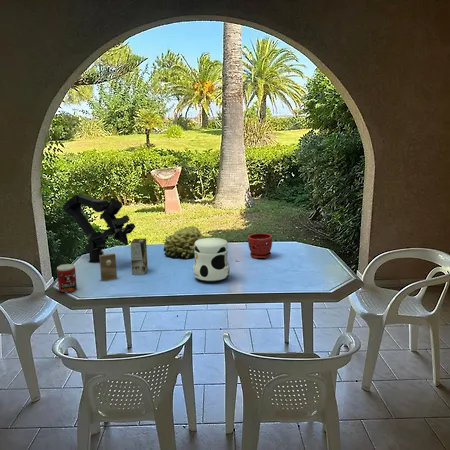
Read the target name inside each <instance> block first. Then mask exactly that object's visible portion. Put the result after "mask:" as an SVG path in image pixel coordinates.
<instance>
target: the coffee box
mask: <svg viewBox="0 0 450 450" xmlns="http://www.w3.org/2000/svg"><path fill="white" fill-rule="evenodd" d="M130 257H131V258H130V261H131V274H132V275H145V274H146V272H147V271H148V267H149V266H148V249H147V238H133V239H132V240H131V242H130Z"/></svg>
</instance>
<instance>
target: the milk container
mask: <svg viewBox="0 0 450 450" xmlns="http://www.w3.org/2000/svg"><path fill="white" fill-rule="evenodd" d="M194 247H195V257H194V262H193V268H192V271H193V275H194V277H195V279H197V280H198V281H201V282H208V283H210V282H211V283H216V282H220V281H224V280H225V279H228V277H229V276H230V275H229V274H230V272H231V271H230V269H231V268H230V267H231V266H230V263H229V260H228V259H229V257H228V253H229V250H228V247H229V246H228V241H227V240H226V239H225V238H219V237H206V238H205V237H204V239H199V240H197V241H196V242H195V246H194Z"/></svg>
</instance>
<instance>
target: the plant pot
mask: <svg viewBox="0 0 450 450" xmlns="http://www.w3.org/2000/svg"><path fill="white" fill-rule="evenodd" d="M247 244H248V249H249V250H250V254H249V255H250V257H251V258H253V259H256V258H265V259H268V258H270V257H271V255H272V252H271V250H272V247H273V236H272V234H270V233H264V232H261V233H252V234H249V235H248V236H247Z"/></svg>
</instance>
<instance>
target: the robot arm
mask: <svg viewBox="0 0 450 450" xmlns="http://www.w3.org/2000/svg"><path fill="white" fill-rule="evenodd" d="M83 205H84V206H86V207H90V208H91V209H92V211H94V212H95V213H100V216H99V220H103V221H104V222H105V223H106V228H107V229H105V230H103V232H101V231H96V230H95V229H94V228H93V225H91V223H90V222H89V220H87V218H86V217H85V215H84V214H83V212H82V206H83ZM62 208H63V210H64V212H65V213H66V214H67V215H68V216H70V217H72V218H73V219H74V220H75V222H76V223H77V224H78V226H79V227H80V229H81V230H82V231H83V232H84V234H85V235H86V237H87V241H86V242H87V244H86V246H85V250H86V251H87V252H89V255H88V256H89V261H88V263H100V257H99V255H105V254H104V251H103V249H105V248H106V242H107V240H109V236H113V237H112V239H113V240H117V241H118V242H120V243H122V244H124V245H125V246H128V245H129V240H128V234H129V235H130V234H131V233H132V232H133V231H134V230H135V229H136V225H135V223H133V222H131V223H129V221H130V220H131V219H130V216H128V215H127V214H125V215H123V216H121V217H117V215H118V213H119V212H120V211H121V209H122V208H123V203H122V202H121V201H120V200H118V199H115V197H113V198H111V199H110V200H107V199H96V198H92V197H89V196H86V195H84V194H81V193H79V194H75V195H73V196H72V197H71V198H70V199H68V200H67V201H65V202H64V204H63V206H62ZM125 224H126V225H125Z"/></svg>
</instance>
